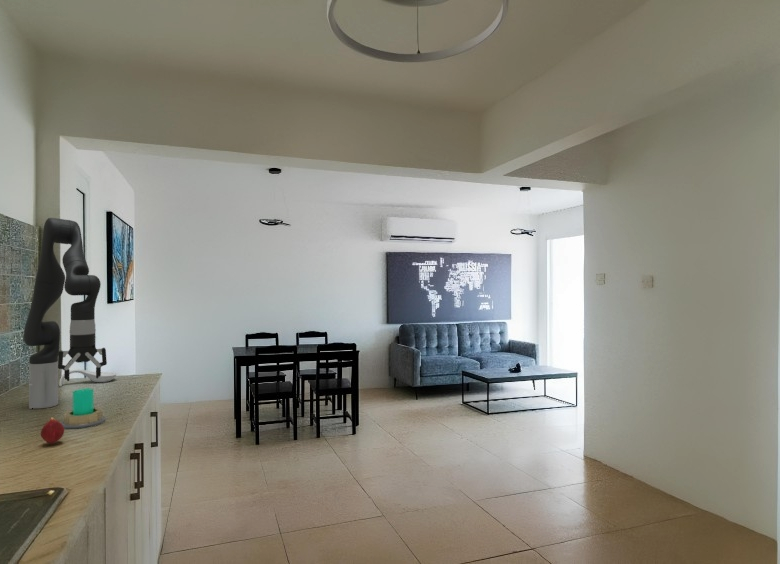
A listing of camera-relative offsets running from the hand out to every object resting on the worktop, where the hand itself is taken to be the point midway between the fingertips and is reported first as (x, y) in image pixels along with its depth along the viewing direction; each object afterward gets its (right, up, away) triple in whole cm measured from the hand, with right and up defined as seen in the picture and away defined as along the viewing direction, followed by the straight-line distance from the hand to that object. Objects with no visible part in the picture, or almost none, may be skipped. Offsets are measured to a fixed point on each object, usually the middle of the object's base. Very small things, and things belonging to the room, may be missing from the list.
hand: (82, 379), depth 169 cm
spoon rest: (-39, -15, +66) cm, 79 cm away
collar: (0, -15, 0) cm, 15 cm away
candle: (0, -15, 0) cm, 15 cm away
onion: (+4, -16, -21) cm, 27 cm away
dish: (0, -15, 0) cm, 15 cm away
